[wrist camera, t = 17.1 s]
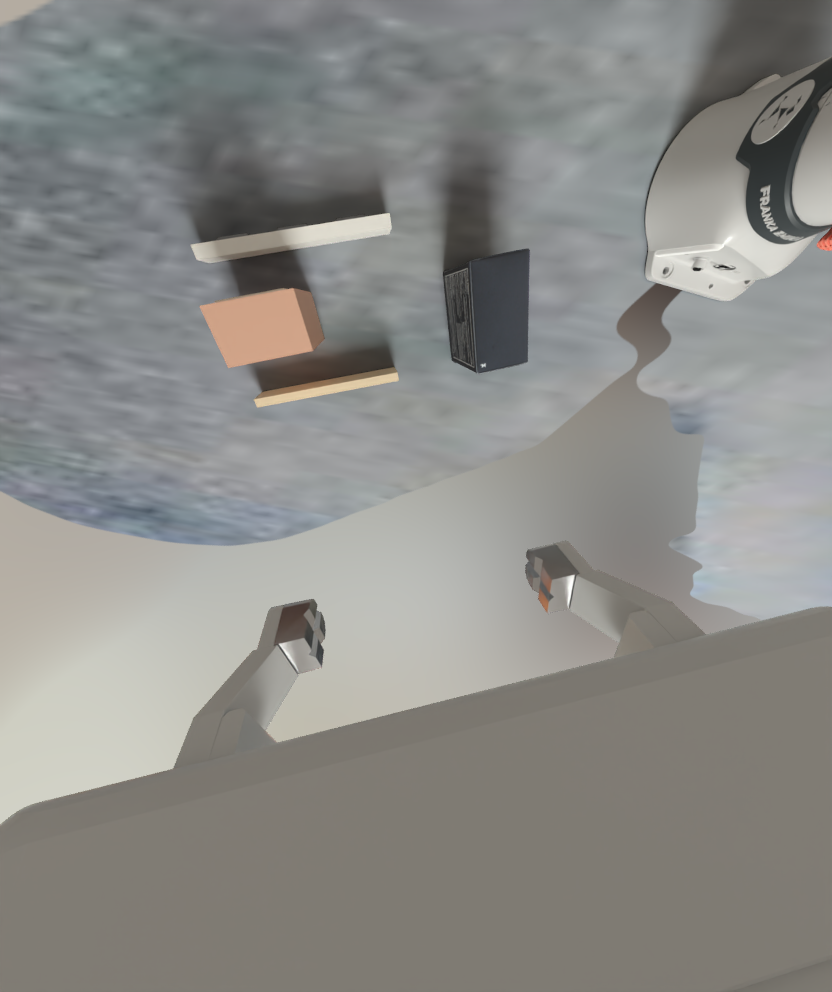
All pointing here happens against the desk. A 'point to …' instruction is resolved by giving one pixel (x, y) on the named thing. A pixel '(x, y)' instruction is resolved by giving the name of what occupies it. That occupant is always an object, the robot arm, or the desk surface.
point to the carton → (264, 325)
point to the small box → (489, 311)
